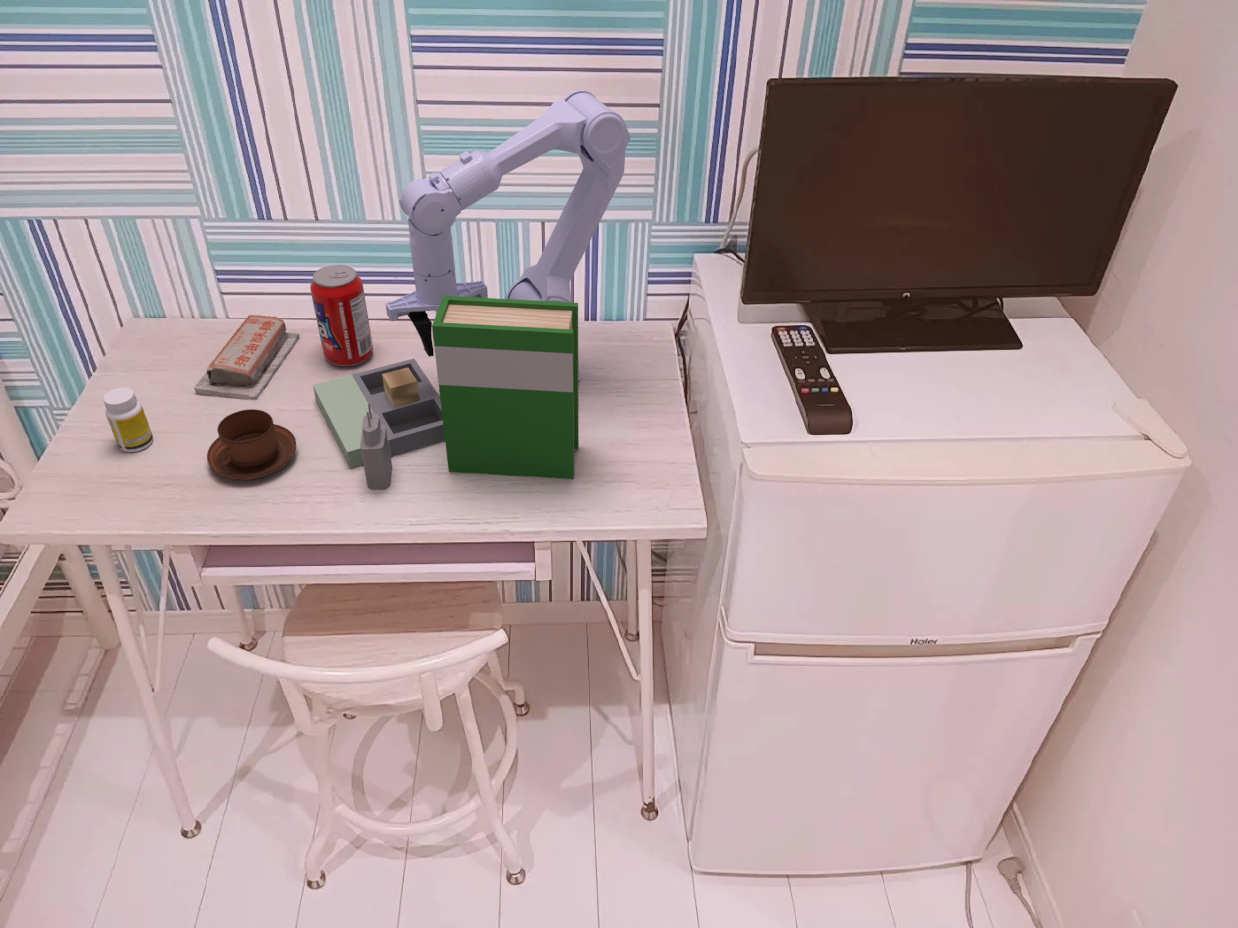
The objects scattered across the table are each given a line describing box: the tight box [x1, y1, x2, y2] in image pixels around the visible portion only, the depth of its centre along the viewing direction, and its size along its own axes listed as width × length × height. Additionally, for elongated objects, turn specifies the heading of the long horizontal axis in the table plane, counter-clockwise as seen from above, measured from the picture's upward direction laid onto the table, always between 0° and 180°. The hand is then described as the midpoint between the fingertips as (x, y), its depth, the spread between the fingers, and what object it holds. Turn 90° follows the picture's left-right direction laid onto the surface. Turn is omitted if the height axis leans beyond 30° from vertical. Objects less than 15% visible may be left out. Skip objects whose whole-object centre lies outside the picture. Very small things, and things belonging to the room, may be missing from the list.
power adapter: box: [360, 403, 393, 491], centre depth 134 cm, size 3×5×12 cm, turn 6°
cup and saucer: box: [206, 408, 297, 480], centre depth 138 cm, size 12×12×6 cm
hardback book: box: [431, 296, 580, 480], centre depth 133 cm, size 18×7×24 cm, turn 87°
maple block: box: [382, 368, 420, 408], centre depth 146 cm, size 4×4×4 cm
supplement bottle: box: [102, 387, 154, 453], centre depth 139 cm, size 5×5×8 cm
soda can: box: [310, 264, 374, 367], centre depth 155 cm, size 8×8×15 cm
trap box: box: [312, 358, 445, 469], centre depth 147 cm, size 16×18×3 cm
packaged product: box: [193, 314, 301, 401], centre depth 156 cm, size 18×5×10 cm
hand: (442, 349), depth 145 cm, fingers open, 4 cm apart
